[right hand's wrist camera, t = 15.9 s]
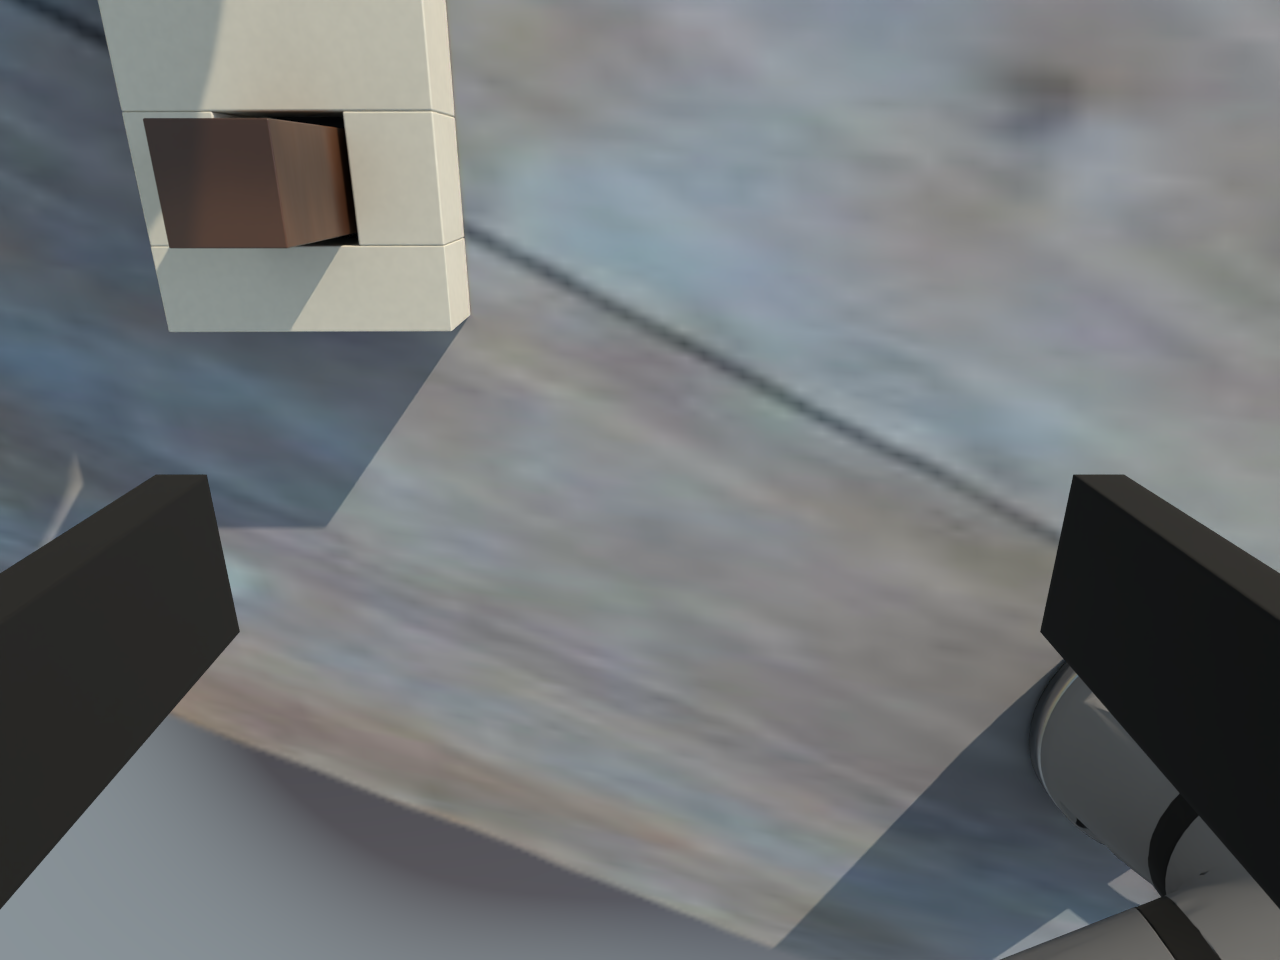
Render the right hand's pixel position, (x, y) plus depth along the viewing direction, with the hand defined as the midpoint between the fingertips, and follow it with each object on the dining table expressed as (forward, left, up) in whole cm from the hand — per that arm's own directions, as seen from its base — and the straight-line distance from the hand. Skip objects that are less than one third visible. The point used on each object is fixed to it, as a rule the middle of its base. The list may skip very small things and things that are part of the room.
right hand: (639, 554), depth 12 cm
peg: (+5, +14, -27) cm, 30 cm away
